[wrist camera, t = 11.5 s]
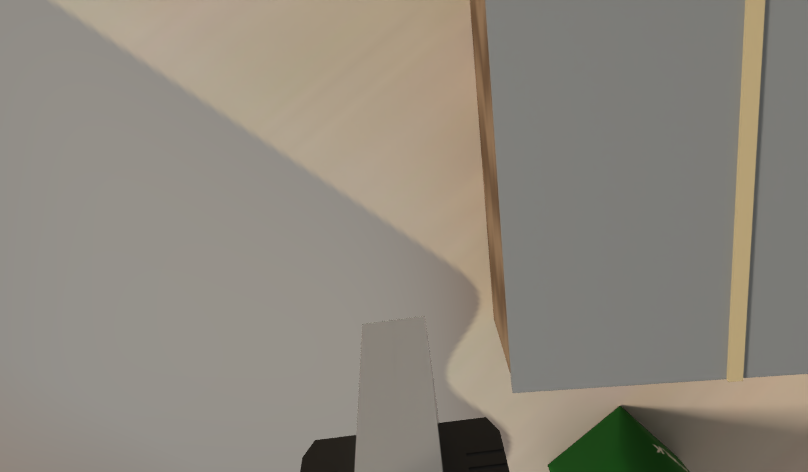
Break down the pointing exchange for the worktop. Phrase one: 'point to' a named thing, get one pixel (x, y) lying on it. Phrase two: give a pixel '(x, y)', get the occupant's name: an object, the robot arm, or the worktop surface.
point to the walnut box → (489, 168)
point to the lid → (651, 189)
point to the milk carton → (617, 449)
